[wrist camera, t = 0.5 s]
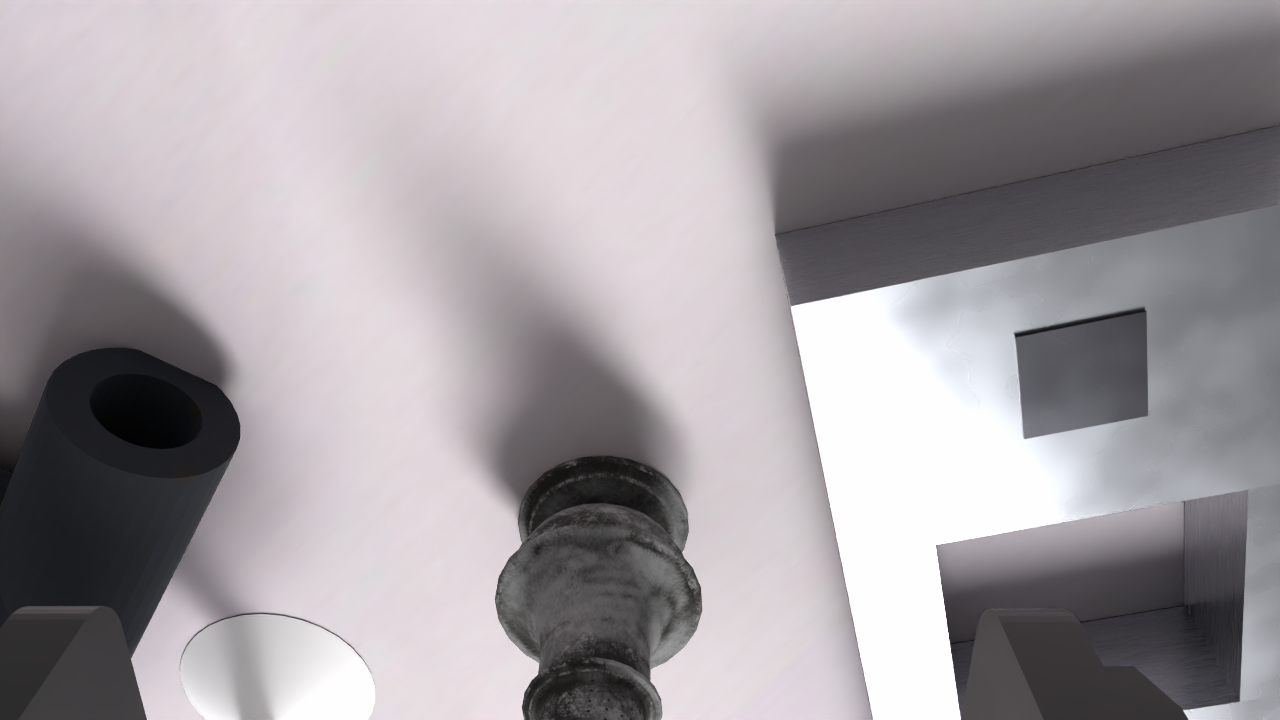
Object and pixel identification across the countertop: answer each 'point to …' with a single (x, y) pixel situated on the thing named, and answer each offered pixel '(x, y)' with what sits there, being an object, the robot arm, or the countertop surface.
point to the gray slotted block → (1057, 405)
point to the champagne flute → (275, 672)
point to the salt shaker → (599, 589)
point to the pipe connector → (111, 485)
